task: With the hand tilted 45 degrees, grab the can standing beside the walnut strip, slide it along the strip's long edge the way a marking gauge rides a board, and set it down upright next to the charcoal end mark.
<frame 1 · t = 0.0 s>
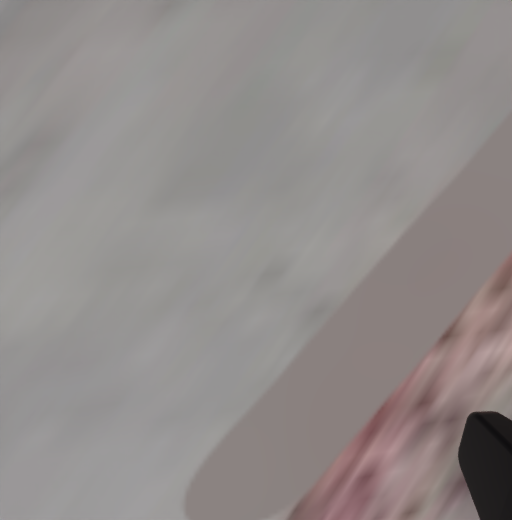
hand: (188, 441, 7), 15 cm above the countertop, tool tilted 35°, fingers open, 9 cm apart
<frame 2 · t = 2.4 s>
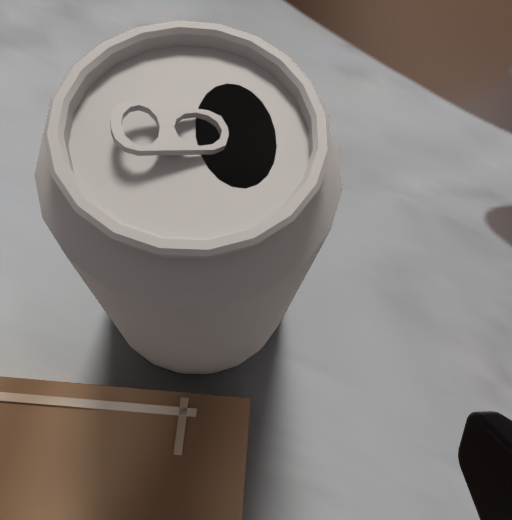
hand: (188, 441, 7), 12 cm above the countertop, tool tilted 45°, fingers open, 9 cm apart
plank: (34, 452, 18), on the countertop
can: (199, 294, 22), on the countertop
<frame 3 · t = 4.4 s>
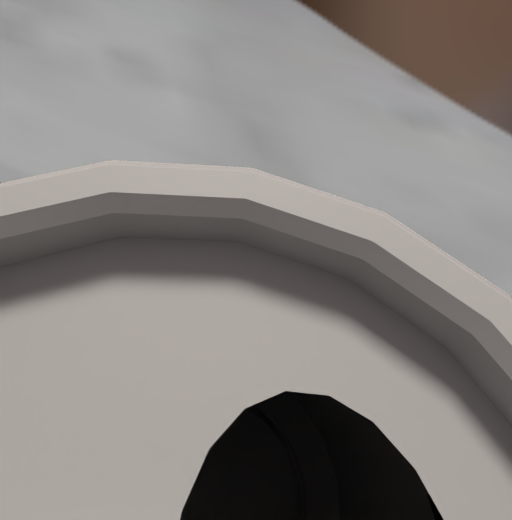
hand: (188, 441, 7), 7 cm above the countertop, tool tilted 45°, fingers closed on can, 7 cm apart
can: (196, 501, 13), on the countertop, touching gripper
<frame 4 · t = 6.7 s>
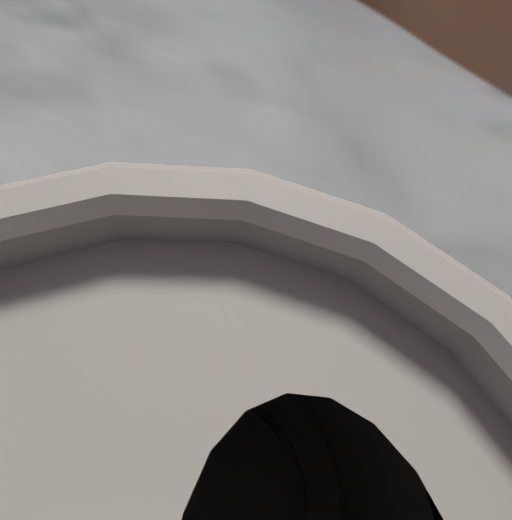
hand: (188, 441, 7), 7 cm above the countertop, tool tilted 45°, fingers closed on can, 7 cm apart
can: (197, 500, 13), on the countertop, touching gripper
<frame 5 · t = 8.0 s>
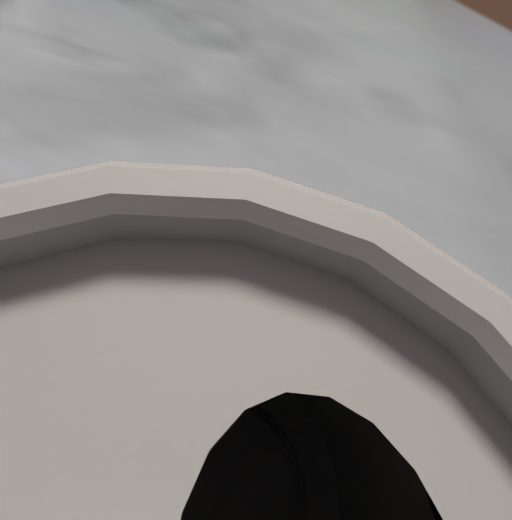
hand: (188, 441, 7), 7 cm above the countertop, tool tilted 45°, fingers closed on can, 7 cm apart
can: (196, 500, 13), on the countertop, touching gripper
when the fingers open (7 cm above the countertop, at t = 9.2 s): can stays where it is, on the countertop.
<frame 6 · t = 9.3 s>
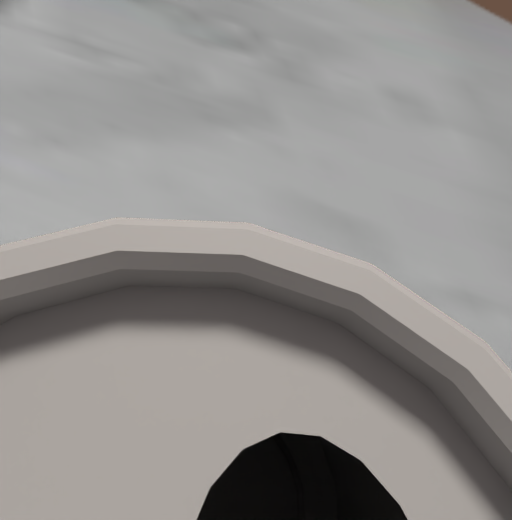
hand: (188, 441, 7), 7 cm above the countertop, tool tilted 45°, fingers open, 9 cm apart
can: (198, 507, 14), on the countertop
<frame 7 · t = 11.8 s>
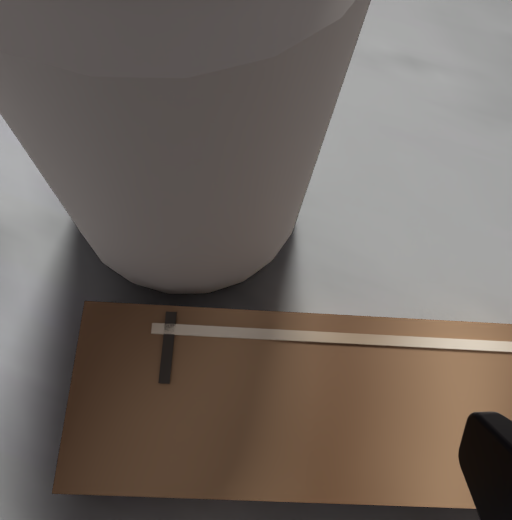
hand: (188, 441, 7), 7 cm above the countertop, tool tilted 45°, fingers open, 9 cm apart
plank: (349, 407, 15), on the countertop
can: (191, 202, 17), on the countertop
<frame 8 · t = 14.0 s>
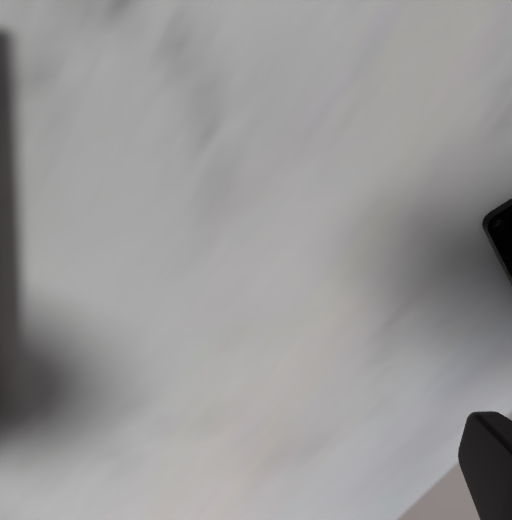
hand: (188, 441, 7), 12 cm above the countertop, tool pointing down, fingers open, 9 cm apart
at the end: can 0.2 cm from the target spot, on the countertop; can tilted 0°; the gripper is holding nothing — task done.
